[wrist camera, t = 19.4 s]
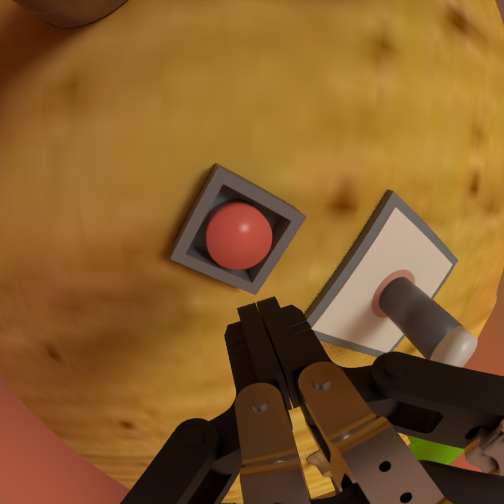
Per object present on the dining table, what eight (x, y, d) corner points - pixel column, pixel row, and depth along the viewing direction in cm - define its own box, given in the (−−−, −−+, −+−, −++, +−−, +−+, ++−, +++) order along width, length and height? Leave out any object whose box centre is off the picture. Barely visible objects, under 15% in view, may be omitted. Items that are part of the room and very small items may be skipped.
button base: (172, 244, 21) (170, 259, 18) (215, 163, 19) (218, 167, 17) (249, 278, 23) (255, 295, 21) (294, 207, 21) (306, 216, 19)
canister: (371, 305, 26) (435, 377, 16) (397, 270, 25) (471, 334, 15) (392, 316, 28) (450, 380, 18) (415, 285, 27) (481, 343, 17)
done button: (194, 240, 20) (195, 254, 18) (223, 188, 19) (227, 196, 17) (245, 263, 22) (251, 278, 20) (274, 215, 21) (284, 226, 19)
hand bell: (332, 457, 48) (355, 509, 34) (300, 464, 46) (321, 521, 32) (348, 441, 45) (376, 498, 31) (315, 449, 43) (340, 512, 29)
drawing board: (294, 327, 27) (297, 334, 26) (388, 189, 22) (395, 192, 21) (382, 354, 32) (386, 359, 31) (453, 257, 28) (459, 261, 27)
